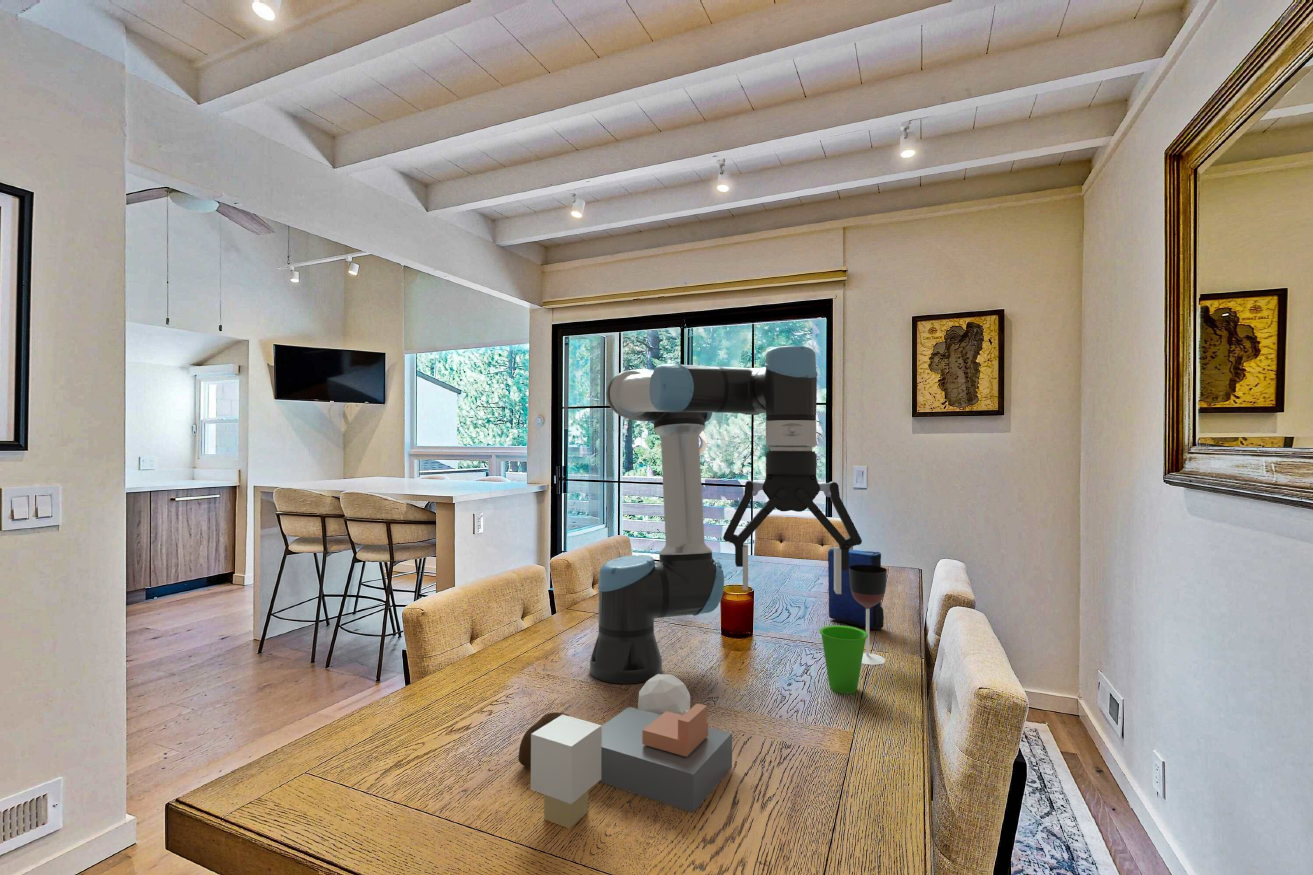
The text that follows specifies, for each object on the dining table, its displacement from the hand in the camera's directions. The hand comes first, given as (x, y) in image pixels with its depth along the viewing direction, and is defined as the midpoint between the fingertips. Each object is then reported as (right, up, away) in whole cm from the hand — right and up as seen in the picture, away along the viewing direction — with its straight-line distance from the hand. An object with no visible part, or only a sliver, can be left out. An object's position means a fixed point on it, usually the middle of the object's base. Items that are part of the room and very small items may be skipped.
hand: (790, 590), depth 92 cm
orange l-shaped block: (-18, -20, -5) cm, 27 cm away
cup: (+16, -26, +27) cm, 41 cm away
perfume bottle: (-18, -26, +9) cm, 33 cm away
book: (+32, -27, +69) cm, 81 cm away
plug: (-32, -26, -14) cm, 43 cm away
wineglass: (+27, -26, +44) cm, 58 cm away
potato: (-36, -26, 0) cm, 44 cm away
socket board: (-20, -26, -3) cm, 33 cm away
